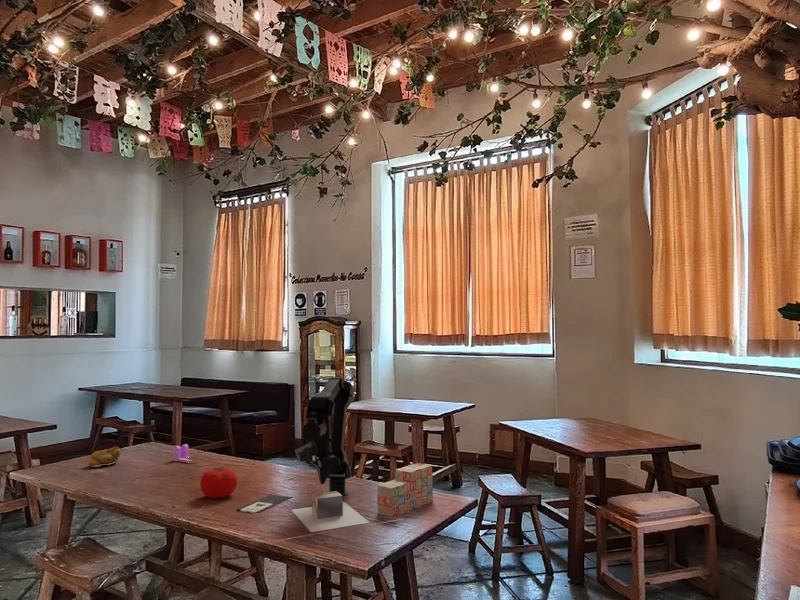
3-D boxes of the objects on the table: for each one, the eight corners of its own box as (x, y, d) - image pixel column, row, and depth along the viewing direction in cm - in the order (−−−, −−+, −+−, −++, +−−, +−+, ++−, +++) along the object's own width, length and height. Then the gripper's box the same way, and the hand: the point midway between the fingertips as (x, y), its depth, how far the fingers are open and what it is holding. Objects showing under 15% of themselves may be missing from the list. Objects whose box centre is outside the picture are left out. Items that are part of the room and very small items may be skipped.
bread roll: (92, 470, 246) (93, 451, 246) (82, 467, 252) (82, 448, 252) (122, 464, 256) (122, 446, 257) (111, 461, 262) (112, 443, 263)
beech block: (312, 494, 181) (317, 499, 176) (336, 490, 185) (342, 495, 179) (312, 513, 181) (317, 519, 176) (336, 509, 184) (342, 515, 179)
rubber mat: (291, 511, 185) (291, 509, 185) (344, 503, 193) (344, 501, 193) (311, 533, 164) (311, 532, 164) (369, 523, 172) (369, 522, 172)
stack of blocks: (392, 519, 176) (391, 478, 177) (377, 515, 180) (376, 475, 181) (433, 501, 193) (432, 464, 194) (418, 498, 197) (417, 462, 197)
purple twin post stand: (173, 461, 261) (173, 445, 261) (183, 458, 265) (183, 443, 266) (191, 464, 254) (191, 448, 254) (201, 462, 258) (201, 446, 259)
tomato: (205, 492, 208) (205, 464, 209) (240, 492, 208) (240, 463, 209) (194, 502, 197) (194, 471, 197) (231, 501, 197) (231, 470, 198)
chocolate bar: (292, 497, 199) (259, 512, 183) (292, 499, 199) (259, 515, 183) (271, 494, 203) (236, 509, 186) (271, 497, 203) (236, 512, 186)
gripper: (289, 432, 191) (290, 480, 190) (305, 442, 174) (306, 494, 173) (322, 429, 196) (322, 475, 195) (340, 438, 179) (341, 489, 178)
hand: (322, 483), depth 185 cm, fingers closed
